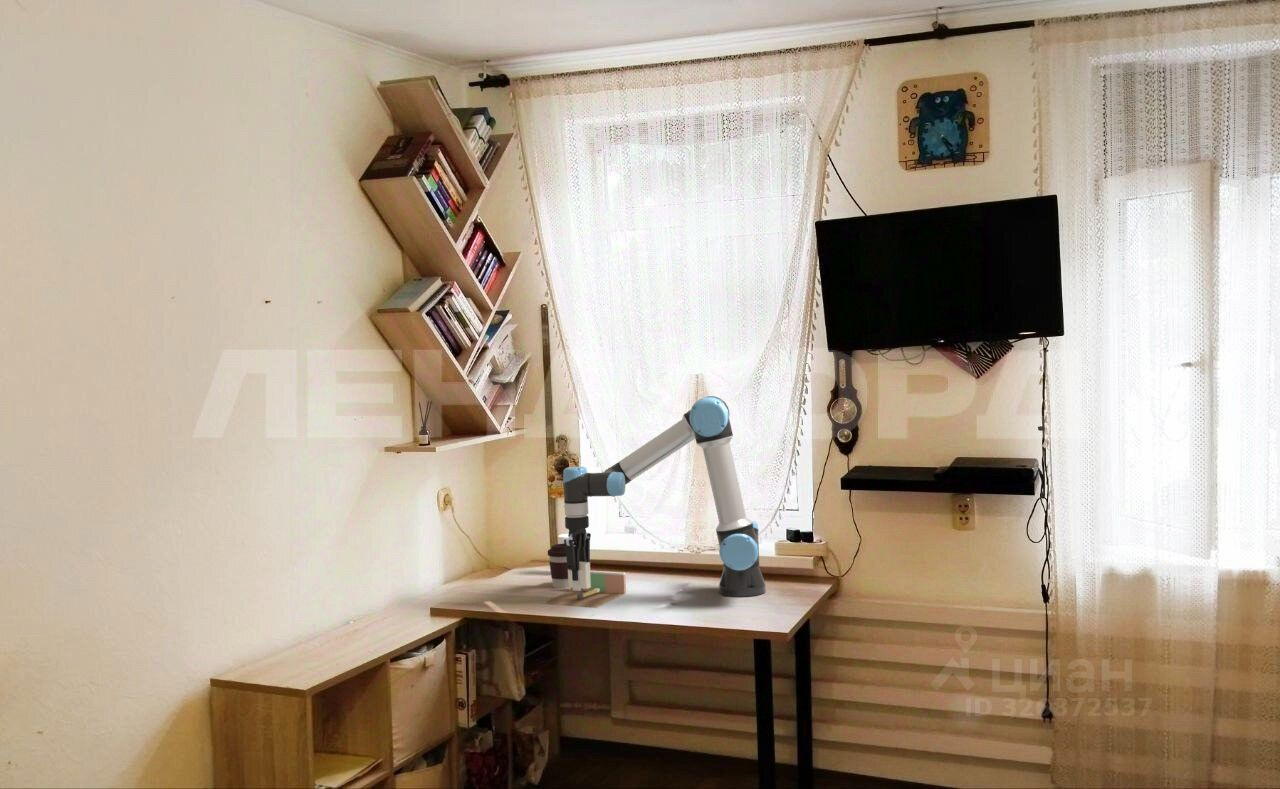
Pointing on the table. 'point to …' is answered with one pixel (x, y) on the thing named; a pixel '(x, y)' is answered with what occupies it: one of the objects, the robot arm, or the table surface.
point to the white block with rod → (583, 580)
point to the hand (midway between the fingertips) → (579, 589)
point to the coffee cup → (558, 566)
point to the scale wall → (607, 582)
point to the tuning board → (588, 601)
